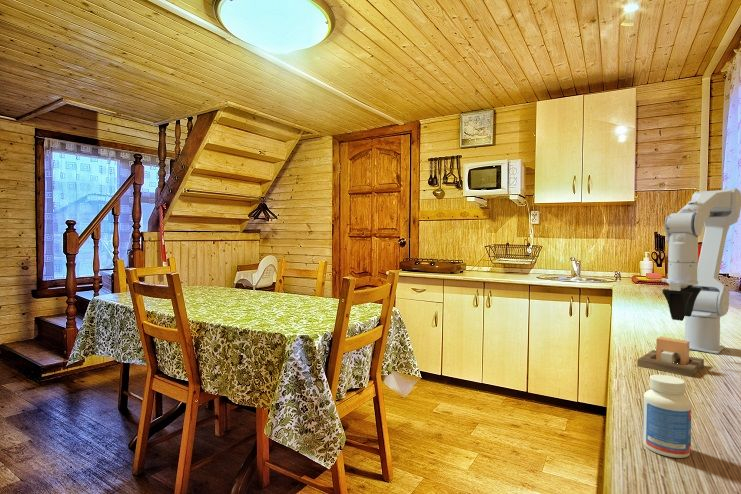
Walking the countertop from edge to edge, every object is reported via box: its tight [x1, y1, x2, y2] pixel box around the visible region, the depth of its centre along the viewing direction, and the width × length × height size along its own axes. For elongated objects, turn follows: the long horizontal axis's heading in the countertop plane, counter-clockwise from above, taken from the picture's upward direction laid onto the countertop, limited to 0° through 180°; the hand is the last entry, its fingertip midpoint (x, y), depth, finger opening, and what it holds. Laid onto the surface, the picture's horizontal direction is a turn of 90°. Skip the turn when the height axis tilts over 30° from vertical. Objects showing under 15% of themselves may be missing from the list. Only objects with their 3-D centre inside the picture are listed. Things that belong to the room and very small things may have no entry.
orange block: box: [655, 336, 690, 365], centre depth 95 cm, size 3×6×6 cm, turn 42°
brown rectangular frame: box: [637, 349, 705, 378], centre depth 95 cm, size 12×10×4 cm
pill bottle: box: [642, 374, 692, 459], centre depth 57 cm, size 6×5×10 cm
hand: (681, 317), depth 101 cm, fingers open, 7 cm apart
